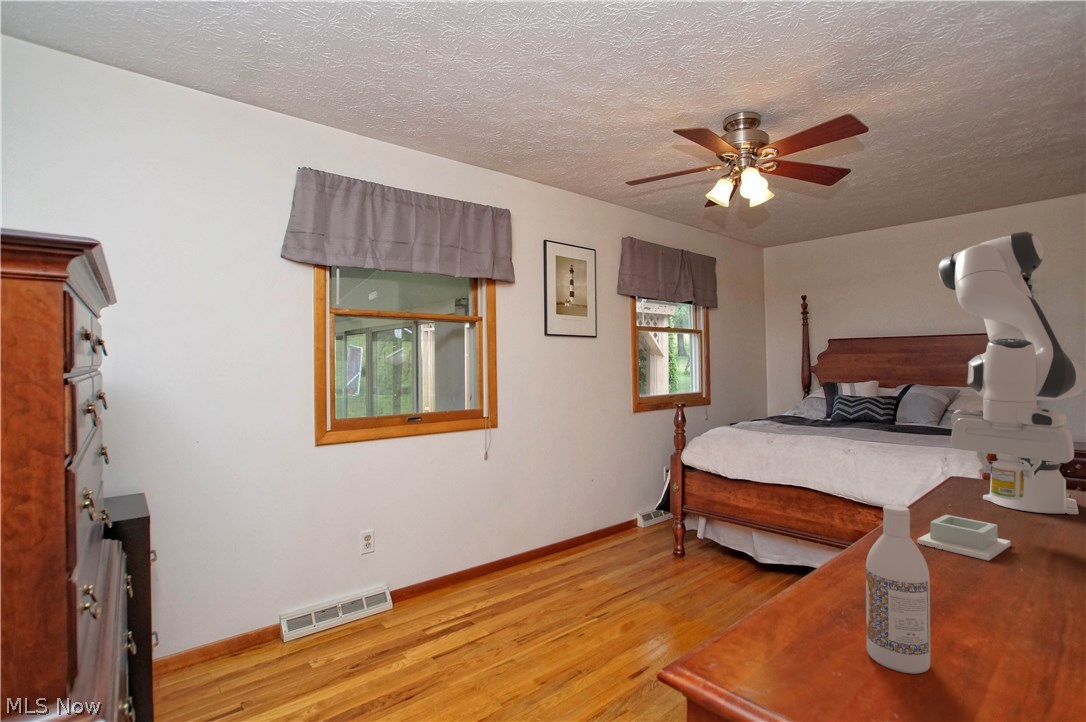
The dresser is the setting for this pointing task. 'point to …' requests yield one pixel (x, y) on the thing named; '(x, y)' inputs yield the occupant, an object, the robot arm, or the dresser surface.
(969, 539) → the caddy
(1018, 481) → the supplement bottle
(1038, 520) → the dresser surface
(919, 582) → the bath foam
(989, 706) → the dresser surface
